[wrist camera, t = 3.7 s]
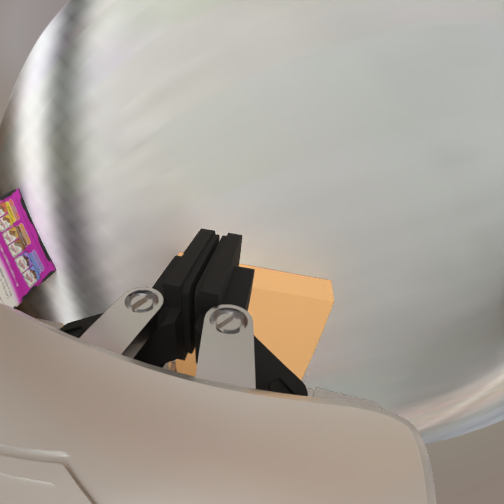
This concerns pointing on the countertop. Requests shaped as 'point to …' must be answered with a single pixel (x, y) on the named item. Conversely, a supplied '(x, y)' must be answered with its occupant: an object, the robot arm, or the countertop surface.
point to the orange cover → (284, 317)
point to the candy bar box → (20, 252)
